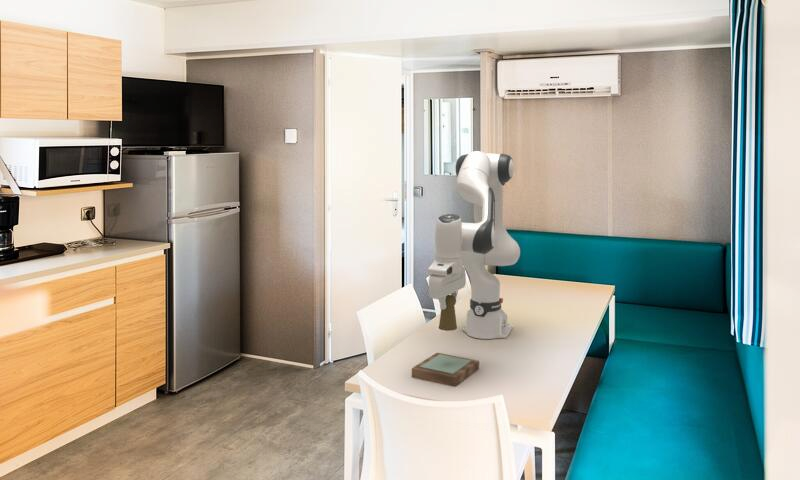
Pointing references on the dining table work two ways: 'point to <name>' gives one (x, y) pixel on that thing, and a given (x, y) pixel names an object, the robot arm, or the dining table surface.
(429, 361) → the wooden tray
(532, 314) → the dining table surface
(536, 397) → the dining table surface
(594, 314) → the dining table surface
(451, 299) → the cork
